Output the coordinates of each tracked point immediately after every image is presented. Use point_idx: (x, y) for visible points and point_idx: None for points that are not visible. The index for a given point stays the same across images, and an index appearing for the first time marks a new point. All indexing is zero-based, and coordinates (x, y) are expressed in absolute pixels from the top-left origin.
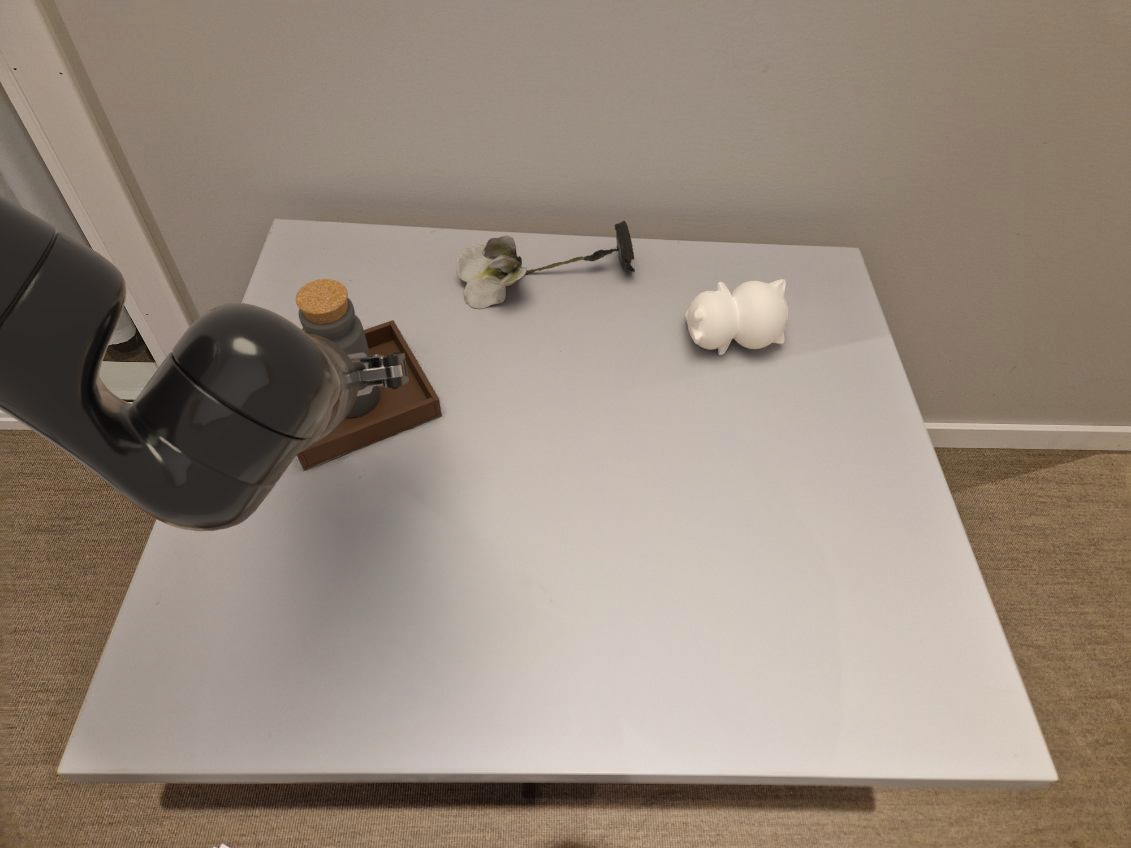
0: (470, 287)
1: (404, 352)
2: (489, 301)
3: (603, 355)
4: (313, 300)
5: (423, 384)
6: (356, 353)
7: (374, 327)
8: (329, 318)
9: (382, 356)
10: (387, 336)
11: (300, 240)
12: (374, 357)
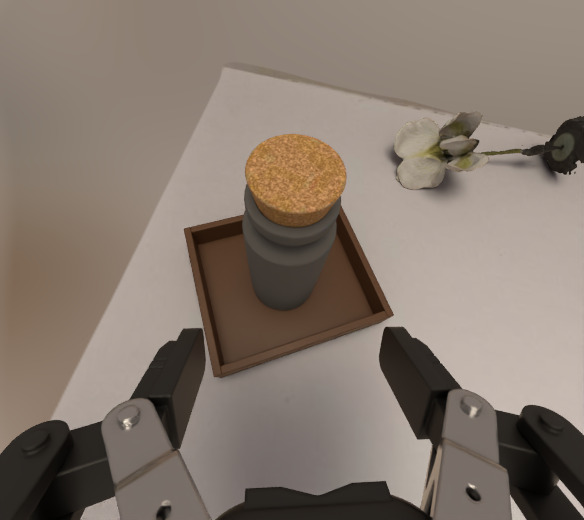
0: (406, 165)
1: (345, 236)
2: (423, 183)
3: (547, 268)
4: (280, 178)
5: (370, 286)
6: (508, 507)
7: None
8: (306, 220)
9: (493, 414)
10: None
11: (239, 89)
12: (496, 442)
